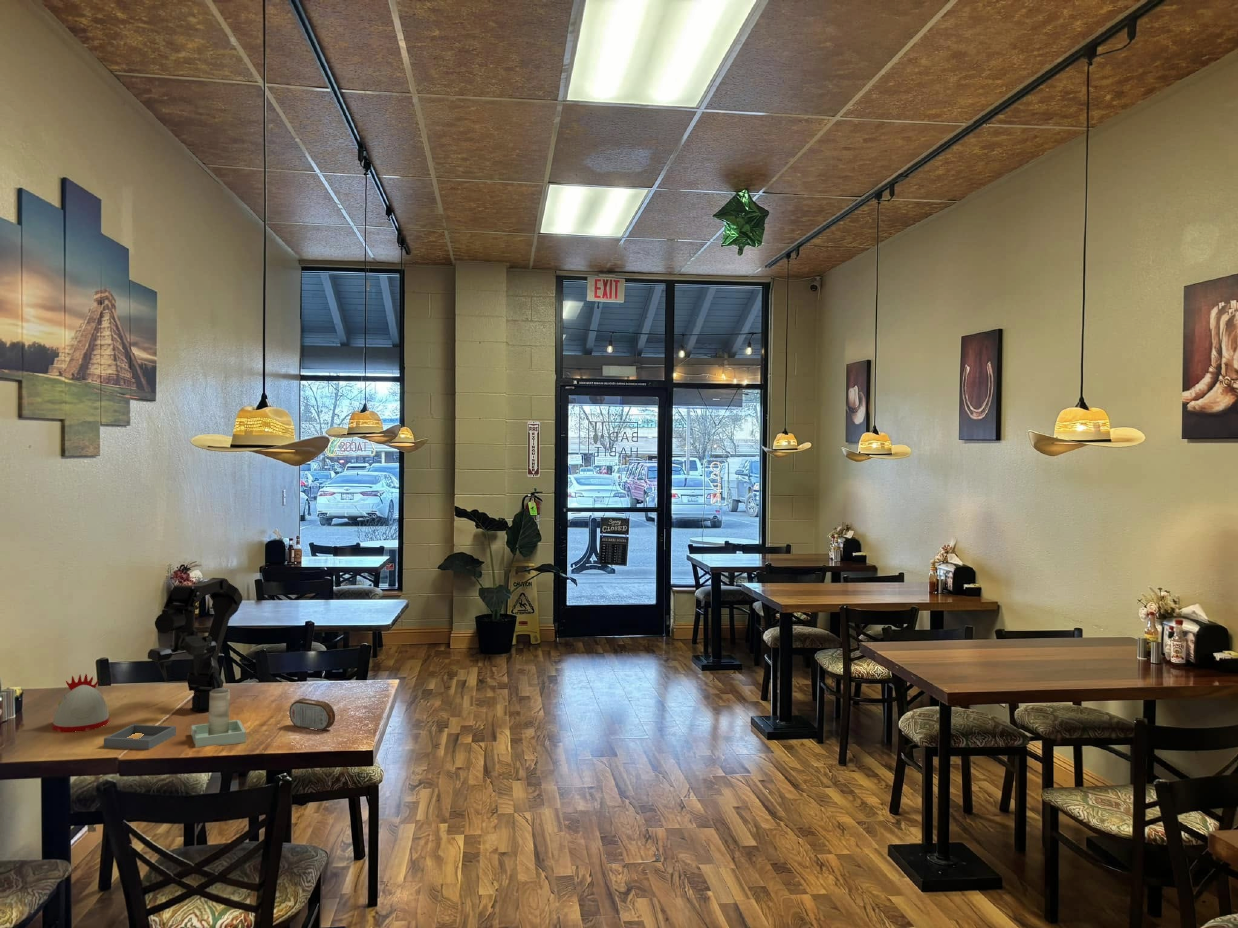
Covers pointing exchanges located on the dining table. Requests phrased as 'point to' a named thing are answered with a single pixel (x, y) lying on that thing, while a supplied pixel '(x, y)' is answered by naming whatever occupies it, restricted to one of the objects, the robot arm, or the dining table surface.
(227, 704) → the beige cylinder
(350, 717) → the dining table surface
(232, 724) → the sage bin
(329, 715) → the tin
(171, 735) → the charcoal bin
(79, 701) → the grey and red dome
